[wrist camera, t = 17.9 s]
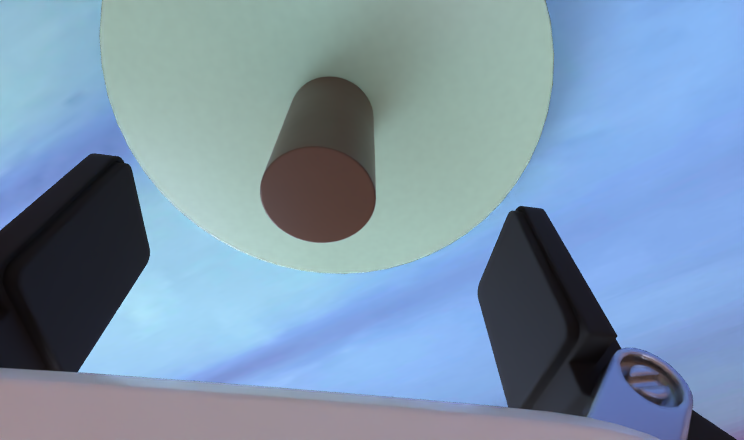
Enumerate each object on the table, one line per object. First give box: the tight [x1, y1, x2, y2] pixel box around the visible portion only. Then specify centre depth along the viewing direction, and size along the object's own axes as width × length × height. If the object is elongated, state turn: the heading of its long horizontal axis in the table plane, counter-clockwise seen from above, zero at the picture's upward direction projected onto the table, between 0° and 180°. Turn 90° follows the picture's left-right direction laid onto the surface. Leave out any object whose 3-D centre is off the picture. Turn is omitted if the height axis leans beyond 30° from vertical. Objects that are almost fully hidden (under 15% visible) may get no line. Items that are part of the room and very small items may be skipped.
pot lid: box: [100, 0, 554, 274], centre depth 14 cm, size 17×17×7 cm
